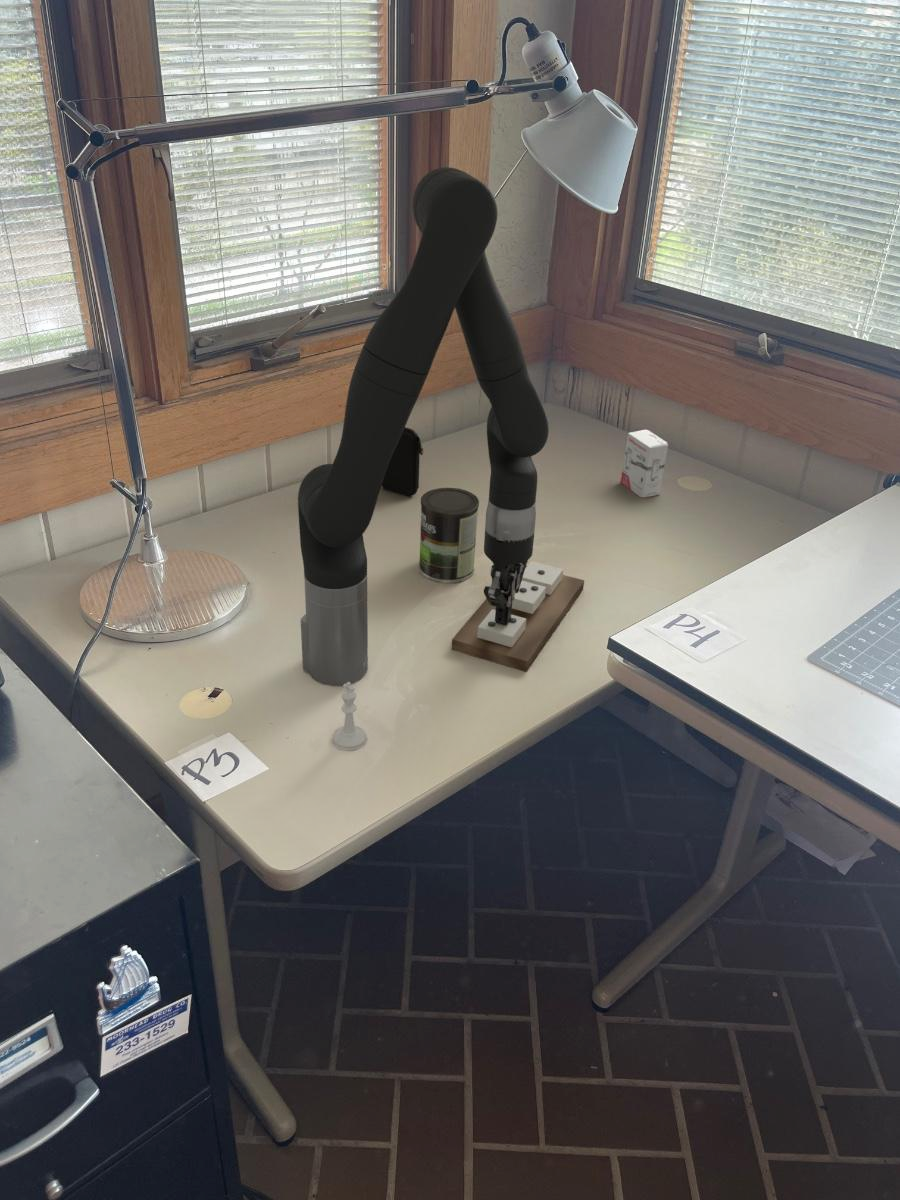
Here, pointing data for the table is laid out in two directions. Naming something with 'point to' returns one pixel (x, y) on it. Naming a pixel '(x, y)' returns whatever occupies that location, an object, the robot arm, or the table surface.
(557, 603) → the tile board
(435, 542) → the coffee can
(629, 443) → the ink box
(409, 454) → the carrying case or bag
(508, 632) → the tile two
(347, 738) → the chess piece
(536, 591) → the tile three
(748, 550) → the table surface
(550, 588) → the tile one
